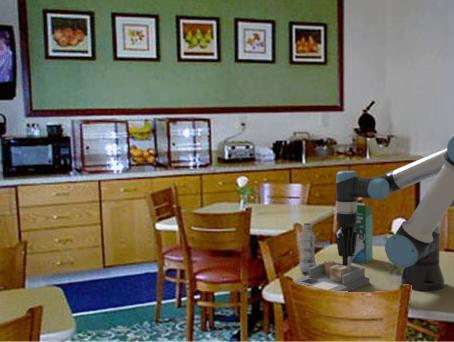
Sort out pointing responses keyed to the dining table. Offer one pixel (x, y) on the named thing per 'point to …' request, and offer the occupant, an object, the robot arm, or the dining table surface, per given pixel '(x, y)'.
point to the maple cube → (338, 272)
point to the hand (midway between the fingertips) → (346, 273)
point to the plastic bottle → (307, 248)
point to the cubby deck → (323, 281)
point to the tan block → (328, 266)
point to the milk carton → (363, 234)
